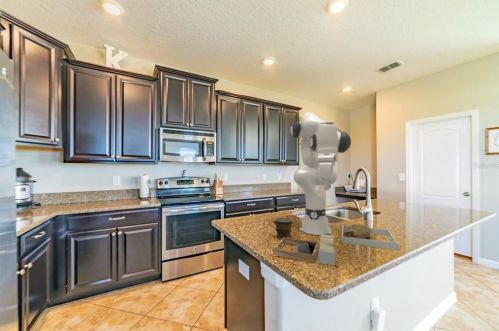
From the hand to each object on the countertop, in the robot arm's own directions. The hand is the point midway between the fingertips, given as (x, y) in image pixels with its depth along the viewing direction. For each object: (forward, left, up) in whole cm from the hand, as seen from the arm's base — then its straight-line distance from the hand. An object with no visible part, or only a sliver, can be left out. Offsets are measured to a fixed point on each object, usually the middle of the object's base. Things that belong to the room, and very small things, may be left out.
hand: (327, 189), depth 94 cm
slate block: (+7, 0, -29) cm, 30 cm away
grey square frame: (-32, +17, -29) cm, 46 cm away
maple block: (+7, 0, -24) cm, 25 cm away
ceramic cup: (-15, -26, -29) cm, 42 cm away
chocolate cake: (+1, -10, -30) cm, 31 cm away
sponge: (-33, +13, -30) cm, 46 cm away
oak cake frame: (+2, -14, -29) cm, 32 cm away
